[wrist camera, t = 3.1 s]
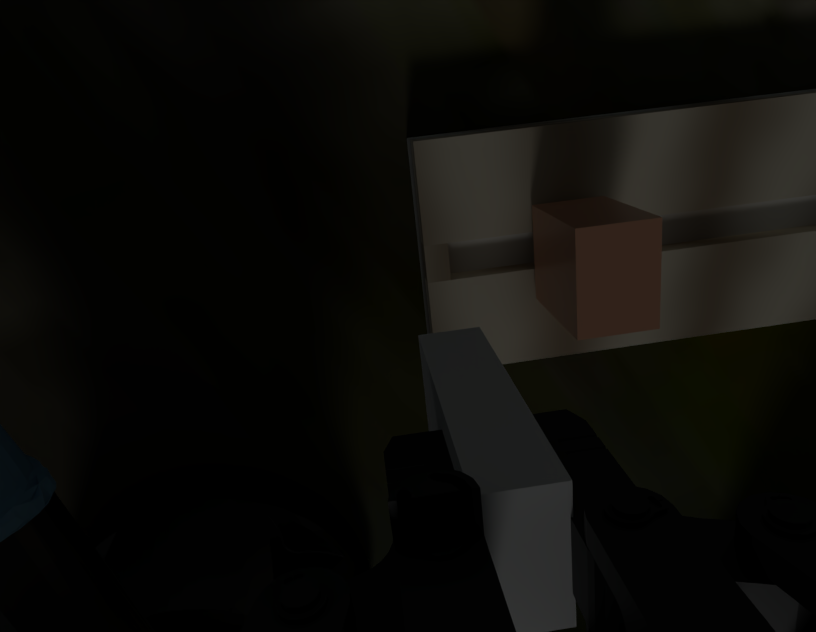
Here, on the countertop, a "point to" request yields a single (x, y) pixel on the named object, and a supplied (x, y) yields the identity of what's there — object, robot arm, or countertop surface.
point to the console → (636, 186)
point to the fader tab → (598, 266)
